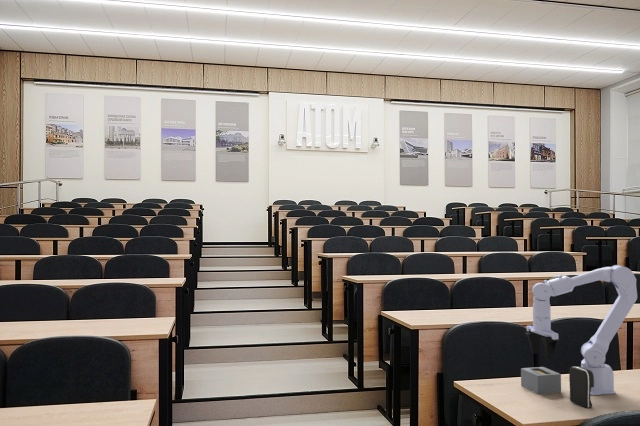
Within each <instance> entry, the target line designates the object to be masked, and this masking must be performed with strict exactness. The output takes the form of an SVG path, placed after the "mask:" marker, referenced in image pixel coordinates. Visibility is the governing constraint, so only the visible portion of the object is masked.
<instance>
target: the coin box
mask: <svg viewBox="0 0 640 426" xmlns="http://www.w3.org/2000/svg"><path fill="white" fill-rule="evenodd" d="M537 370H538V371H541V372H543V373H546V374H541V373H538V372H536V371H537ZM520 385H521V386H522V387H523V388H525V389H527V390H529V391H531V392H534V393H535V394H537V395H541V394H542V395H543V394H554V393H562V375H561V373H559V372H557V371H554V370H551V369H550V368H547V367H544V366H539V367H538V366H536V367H523V368H520Z"/></svg>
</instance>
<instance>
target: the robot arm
mask: <svg viewBox="0 0 640 426" xmlns="http://www.w3.org/2000/svg"><path fill="white" fill-rule="evenodd" d="M596 281H597V282H598V281H602V282H605V283H606V282H607V283H611V284H613V285H614V287H615V290H616V292H617V294H618V296H617V297H616V299H615V301H614V303H613V304H612V306H611V308H610V309H609V311H608V312H607V314H606V316H605V317H604V319H603V321H602V322H601V324H600V325H599V327H598V328H597V331H596V332H595V334H594V335H592V336H591V337H590V338H589V340H588V341H587V342H585V343H583V344H582V346H581V348H580V353H581V355H582V357H583V359H582V360H580V361H581V363H580V367H583V368H586V369H589V370H591V371H592V373H593V375H594V387H591V392H590V396H599V395H611V394H612V395H613V394H617V393H616V391H615V390H614V389H615V384H614V383H615V382H614V381H615V378H614V377H615V374H614V371H613V369H612V367H611V366H610V365H609V364H606V363H605V362H606V355H607V352H608V351H609V346H610V343H611V342H612V340H613V338H614V337H615V335H616V334H617V332H618V331H619V329H620V327H621V325H622V324H623V322H624V321H625V319H626V318H627V316H628V314H629V313H630V311H631V309H632V308H633V306H634V304H636V301H637V300H638V290H637V278H636V276H635V274H634V272H633V271H632V270H631V269H630V268H629V267H626V266H623V265H620V264H614V265H612V266H603V267H601V268H596V269H593V270H591V271H587V272H584V273H582V274H578V275H575V276H572V277H570V276H567V275H562V274H559V275H557V277H556V278H552V279H549V280H547V279H544V280H543V282H537V283H535V284H534V285H533V287H532V289H531V292H532V295H533V299H532V301H533V303H532V325H526V332H525V333H524V334H525V337H526V339H527V341H528V342H529V343H528V344H529V346H530V350H531V354H538V353H540V352H539V351H540V341H541V340H542V342H543V346H544V353H545V359H547V360H552V359H553V358H554V356H555V355H554V354H555V352H556V348H557V346H558V344H559V343H560V338H559V333H557V332H555V331H553V330H552V328H551V327H552V325H551V324H552V323H551V321H552V319H551V313H552V312H551V304H550V303H551V302H550V298H551V297H557V296H560V295H563V294H567V293H571V292H573V290H574V288H575V287H577V286H582V285H585V284H589V283H594V282H596ZM542 336H544V337H542Z"/></svg>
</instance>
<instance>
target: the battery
mask: <svg viewBox="0 0 640 426" xmlns="http://www.w3.org/2000/svg"><path fill="white" fill-rule="evenodd" d="M568 372H569V373H568V374H569V375H568V376H569V378H568V379H569V382H568V383H569V401H570V402H572V403H574V404H577V405H578V406H581V407H582V408H583V407H584V408H592V407H593V403H592V399H591V394H590V392H591V387H594V375H593V373H592V371H591V370H589V369H586V368H583V367H581V366H571V367H570V368H569V371H568Z"/></svg>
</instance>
